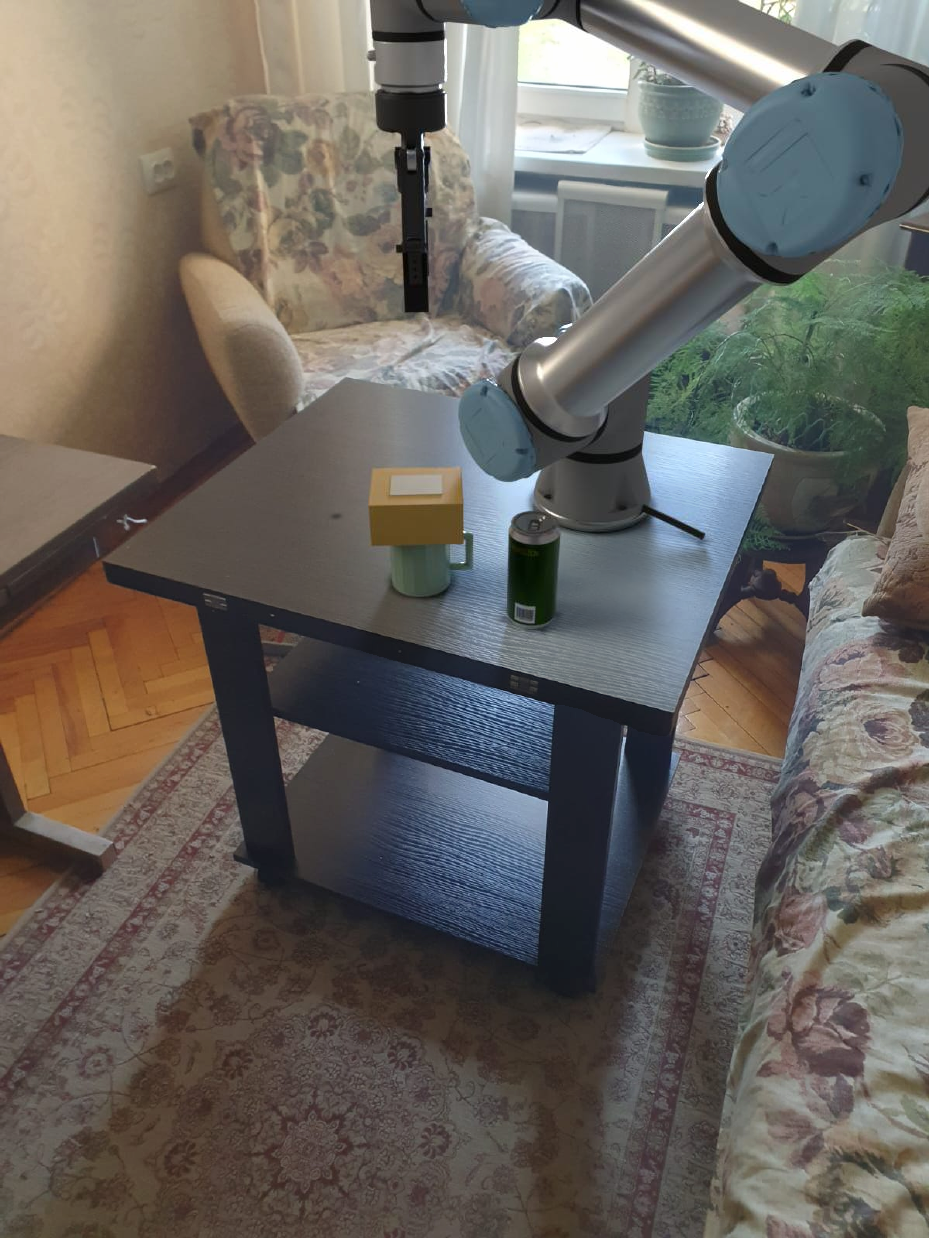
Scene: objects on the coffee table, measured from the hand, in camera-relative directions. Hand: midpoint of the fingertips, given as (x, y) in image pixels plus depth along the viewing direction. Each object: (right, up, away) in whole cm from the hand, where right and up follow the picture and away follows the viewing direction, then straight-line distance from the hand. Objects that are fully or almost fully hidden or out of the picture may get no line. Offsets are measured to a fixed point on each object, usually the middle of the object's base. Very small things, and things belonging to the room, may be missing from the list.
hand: (417, 293), depth 110 cm
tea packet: (0, -28, -6) cm, 29 cm away
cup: (+2, -34, -1) cm, 34 cm away
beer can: (+13, -38, -7) cm, 41 cm away
